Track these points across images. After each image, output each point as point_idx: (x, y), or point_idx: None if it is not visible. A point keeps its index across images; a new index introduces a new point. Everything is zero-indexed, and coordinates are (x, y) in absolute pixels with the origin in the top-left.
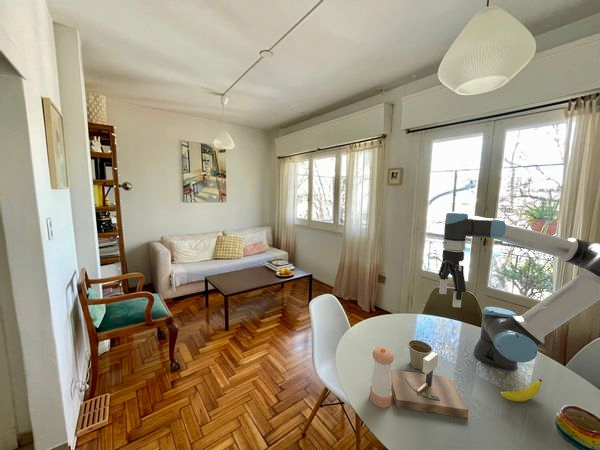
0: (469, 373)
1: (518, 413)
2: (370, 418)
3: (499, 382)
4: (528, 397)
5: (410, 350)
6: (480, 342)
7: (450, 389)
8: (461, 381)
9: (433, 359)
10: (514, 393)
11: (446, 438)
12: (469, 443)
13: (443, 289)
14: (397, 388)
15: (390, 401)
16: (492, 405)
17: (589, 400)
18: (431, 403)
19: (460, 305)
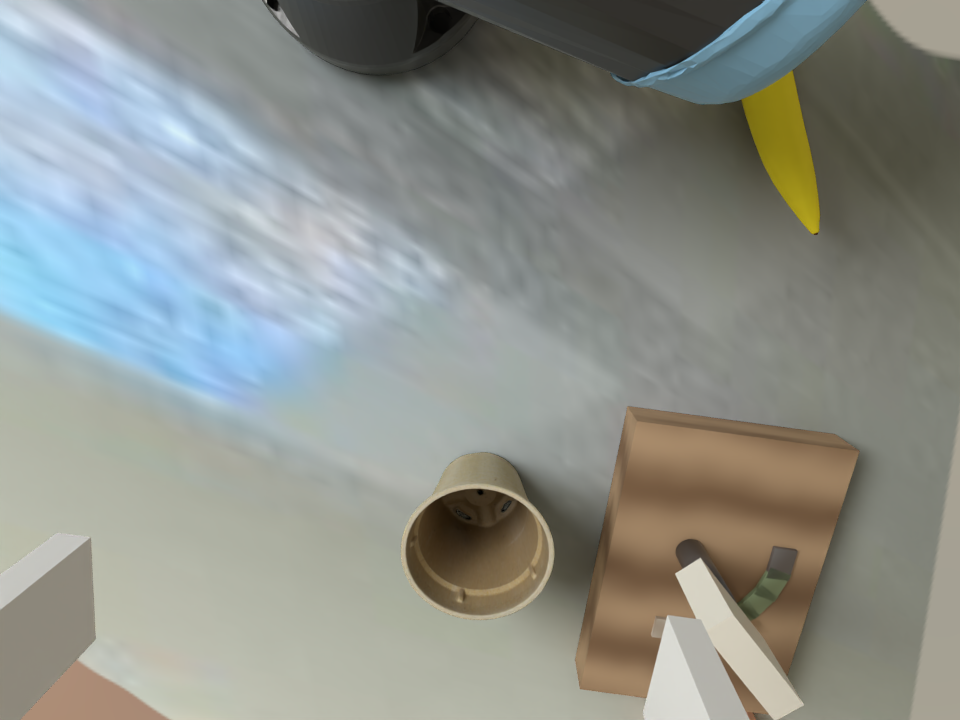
0: (539, 233)
1: (832, 165)
2: None
3: (613, 93)
4: None
5: (489, 596)
6: (329, 12)
7: (729, 463)
8: (606, 323)
9: (761, 647)
10: (793, 128)
11: (910, 566)
12: (942, 495)
13: (20, 658)
14: None
15: (751, 716)
16: (774, 266)
17: None
18: (808, 591)
19: (714, 655)
